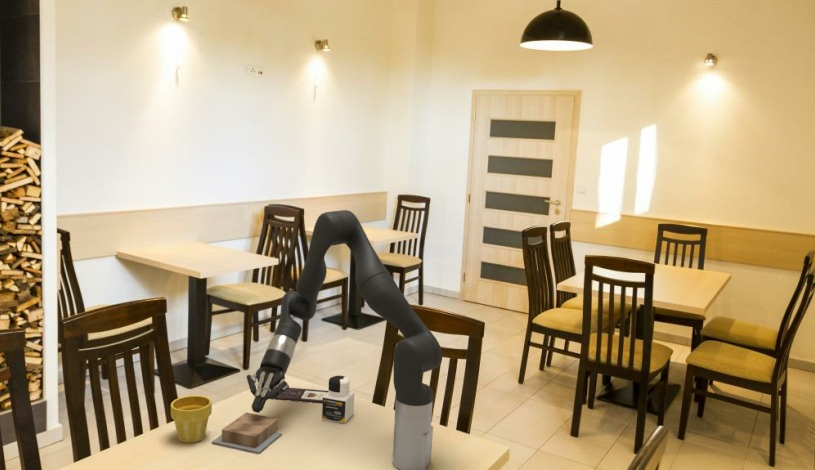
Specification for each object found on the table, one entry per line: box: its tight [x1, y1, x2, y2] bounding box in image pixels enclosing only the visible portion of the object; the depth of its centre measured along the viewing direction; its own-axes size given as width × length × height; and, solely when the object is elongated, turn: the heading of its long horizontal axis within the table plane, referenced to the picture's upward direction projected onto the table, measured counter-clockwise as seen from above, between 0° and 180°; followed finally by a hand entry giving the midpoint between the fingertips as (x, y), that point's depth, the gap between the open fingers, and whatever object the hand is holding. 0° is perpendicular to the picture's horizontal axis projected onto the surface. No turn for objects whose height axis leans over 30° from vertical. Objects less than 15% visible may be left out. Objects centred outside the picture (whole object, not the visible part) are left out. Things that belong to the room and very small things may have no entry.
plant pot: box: [170, 394, 213, 444], centre depth 178 cm, size 10×10×10 cm
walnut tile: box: [221, 412, 279, 448], centre depth 180 cm, size 10×3×12 cm
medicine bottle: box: [321, 375, 355, 424], centre depth 195 cm, size 7×7×12 cm
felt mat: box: [211, 431, 283, 455], centre depth 179 cm, size 14×12×1 cm
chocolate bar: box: [274, 387, 329, 405], centre depth 210 cm, size 9×1×18 cm
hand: (255, 411), depth 182 cm, fingers closed
